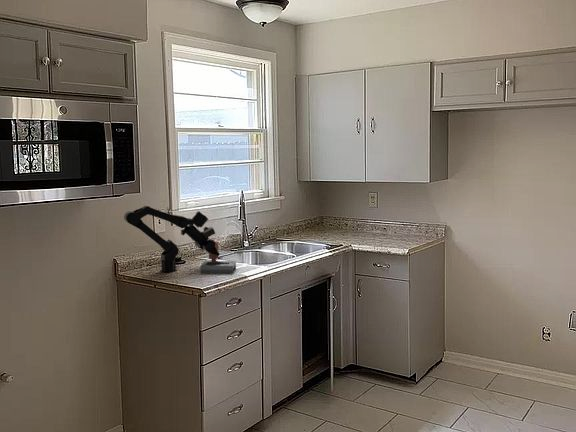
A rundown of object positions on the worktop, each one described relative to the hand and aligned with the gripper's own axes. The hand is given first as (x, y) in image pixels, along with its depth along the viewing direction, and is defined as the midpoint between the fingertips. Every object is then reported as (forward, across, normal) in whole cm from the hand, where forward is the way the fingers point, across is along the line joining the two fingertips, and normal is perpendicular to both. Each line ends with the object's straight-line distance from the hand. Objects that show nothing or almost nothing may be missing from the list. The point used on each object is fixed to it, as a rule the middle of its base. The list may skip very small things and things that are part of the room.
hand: (216, 253), depth 316 cm
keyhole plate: (+3, -11, +7) cm, 14 cm away
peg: (+4, 0, +6) cm, 7 cm away
